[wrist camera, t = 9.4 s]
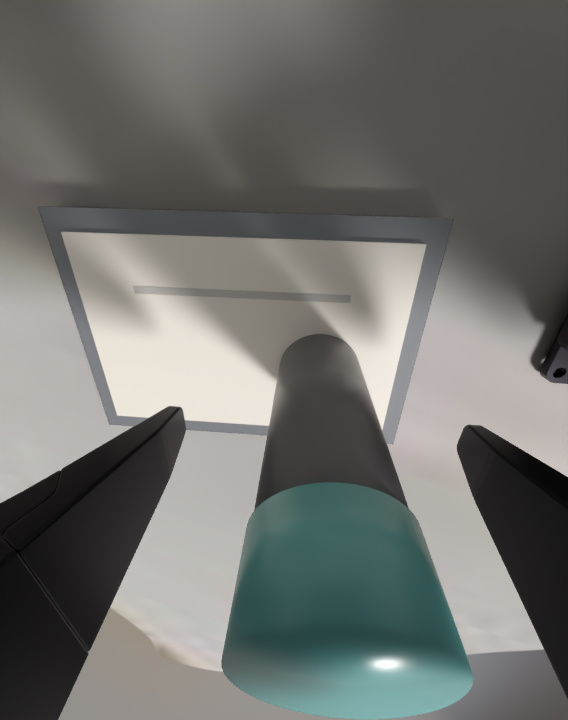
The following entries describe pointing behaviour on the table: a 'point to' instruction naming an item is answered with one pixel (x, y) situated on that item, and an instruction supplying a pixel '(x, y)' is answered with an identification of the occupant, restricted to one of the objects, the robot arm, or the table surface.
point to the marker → (337, 561)
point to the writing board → (240, 304)
